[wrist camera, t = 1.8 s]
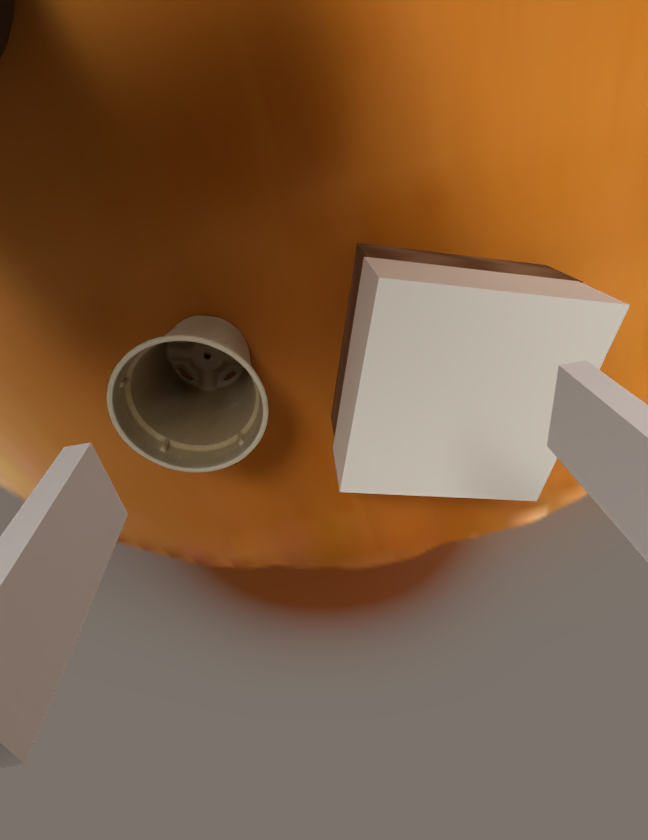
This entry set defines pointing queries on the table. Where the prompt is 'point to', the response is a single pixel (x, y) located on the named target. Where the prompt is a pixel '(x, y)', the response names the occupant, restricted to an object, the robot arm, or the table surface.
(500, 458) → the tower top
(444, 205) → the table surface
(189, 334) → the flower pot
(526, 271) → the tower base
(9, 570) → the robot arm
